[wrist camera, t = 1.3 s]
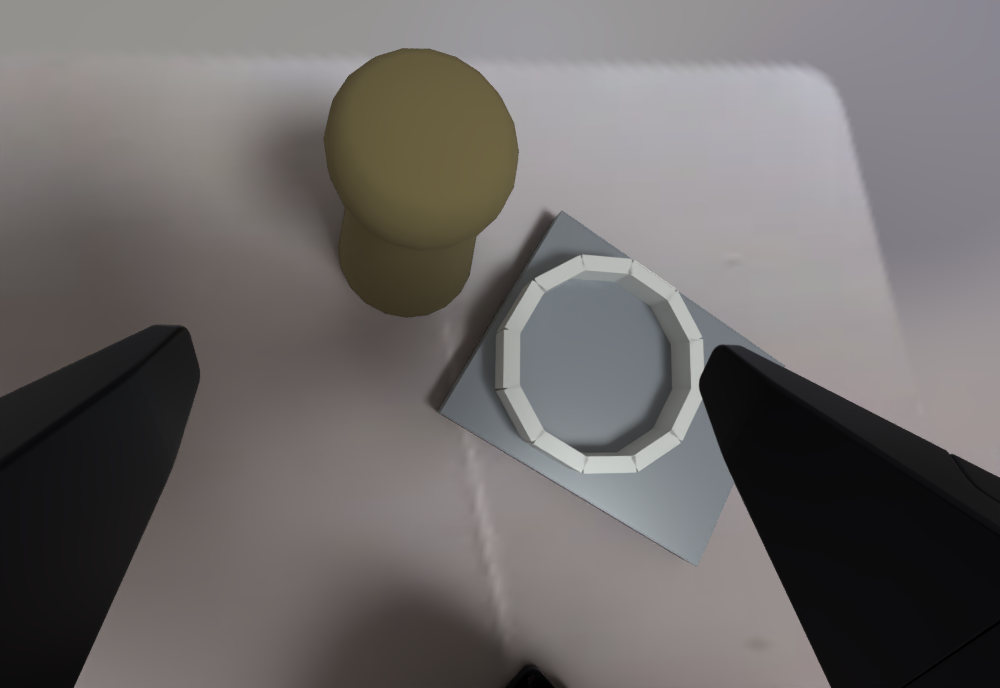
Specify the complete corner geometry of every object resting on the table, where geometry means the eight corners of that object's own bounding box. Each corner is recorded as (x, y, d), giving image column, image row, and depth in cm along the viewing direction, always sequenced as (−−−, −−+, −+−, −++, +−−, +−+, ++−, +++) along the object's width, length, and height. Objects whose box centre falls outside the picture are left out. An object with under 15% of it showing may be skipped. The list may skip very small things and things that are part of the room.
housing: (437, 412, 22) (444, 413, 19) (553, 219, 24) (573, 197, 22) (681, 558, 24) (718, 578, 21) (767, 367, 26) (809, 363, 24)
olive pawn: (318, 289, 21) (253, 180, 11) (366, 168, 22) (351, -40, 12) (449, 335, 22) (509, 278, 12) (488, 218, 24) (576, 68, 13)
